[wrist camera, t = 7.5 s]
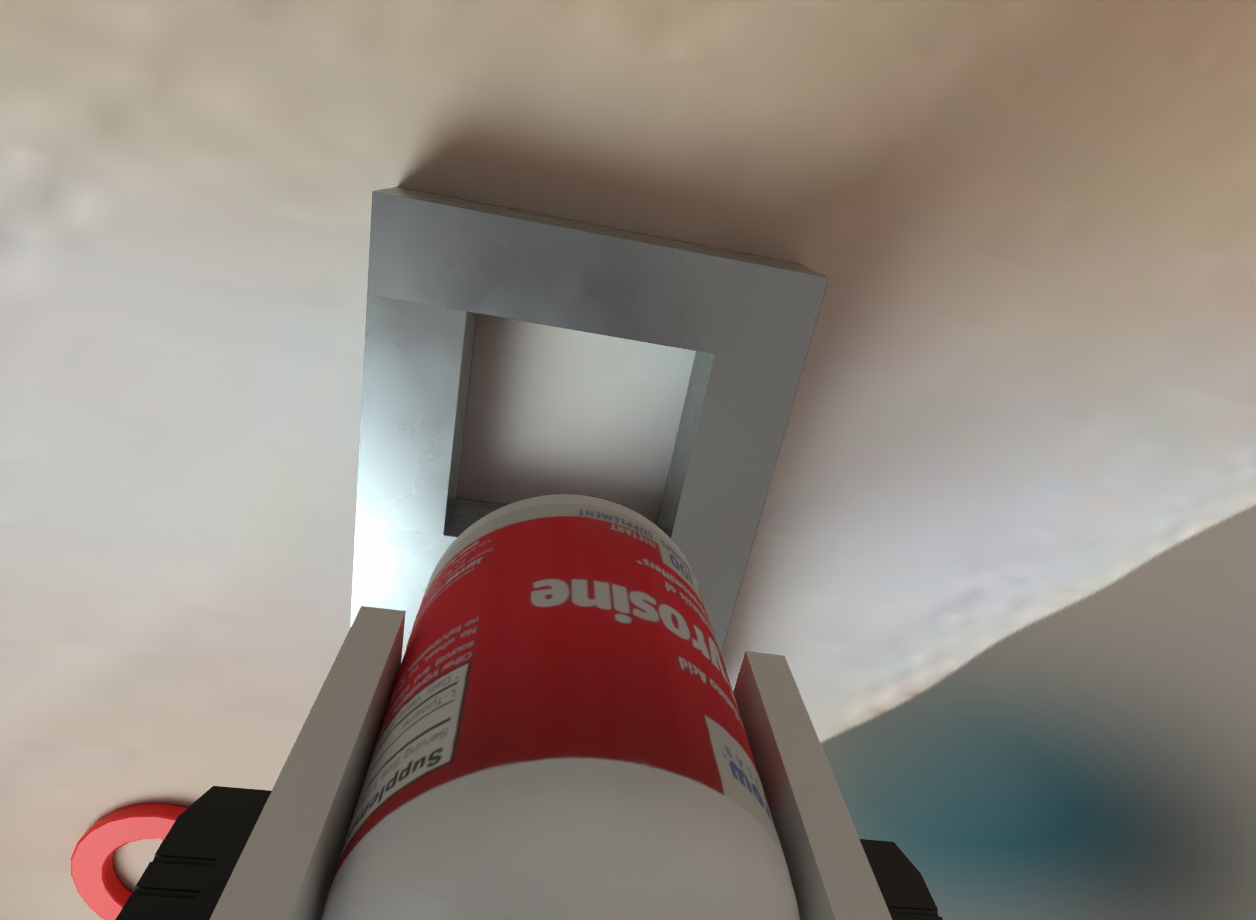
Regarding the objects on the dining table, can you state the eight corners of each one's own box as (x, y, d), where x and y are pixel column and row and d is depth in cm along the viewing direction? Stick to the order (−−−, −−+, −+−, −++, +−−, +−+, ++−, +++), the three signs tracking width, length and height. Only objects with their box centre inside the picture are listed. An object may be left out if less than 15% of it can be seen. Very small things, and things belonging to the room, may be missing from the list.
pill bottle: (751, 592, 17) (1044, 1262, 7) (575, 750, 18) (594, 1502, 8) (548, 426, 15) (523, 1024, 5) (368, 619, 16) (47, 1401, 6)
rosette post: (396, 187, 24) (-1095, 454, 3) (801, 264, 26) (1873, 796, 4) (365, 692, 32) (-71, 1785, 10) (676, 724, 33) (845, 1713, 12)
